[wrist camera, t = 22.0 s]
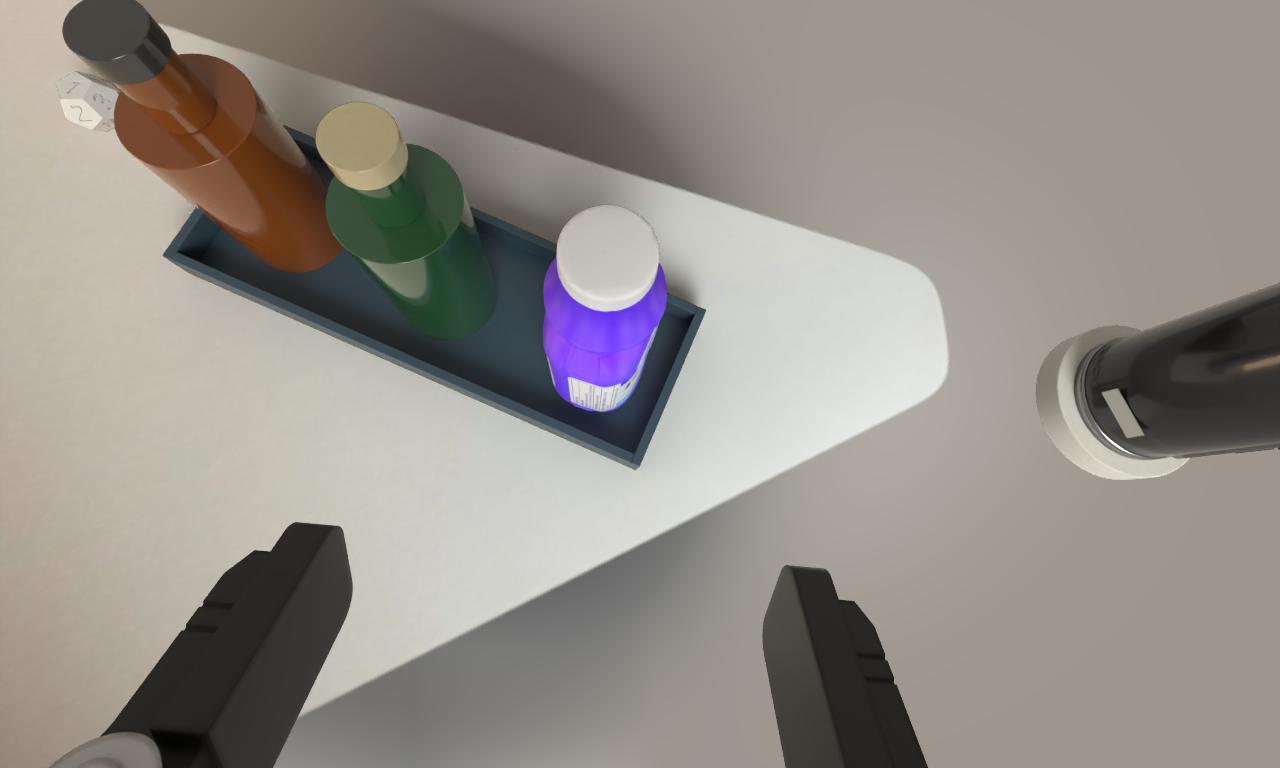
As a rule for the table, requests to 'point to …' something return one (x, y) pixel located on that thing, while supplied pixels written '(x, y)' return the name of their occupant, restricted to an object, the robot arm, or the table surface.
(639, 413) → the tray
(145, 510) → the table surface
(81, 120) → the game die
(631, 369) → the bottle
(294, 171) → the amber bottle
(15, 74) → the table surface
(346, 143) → the green bottle
